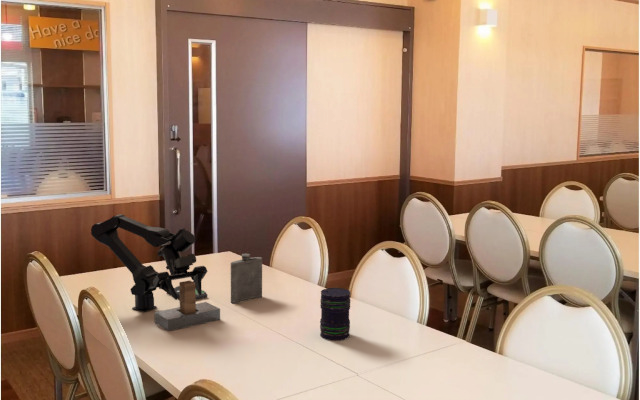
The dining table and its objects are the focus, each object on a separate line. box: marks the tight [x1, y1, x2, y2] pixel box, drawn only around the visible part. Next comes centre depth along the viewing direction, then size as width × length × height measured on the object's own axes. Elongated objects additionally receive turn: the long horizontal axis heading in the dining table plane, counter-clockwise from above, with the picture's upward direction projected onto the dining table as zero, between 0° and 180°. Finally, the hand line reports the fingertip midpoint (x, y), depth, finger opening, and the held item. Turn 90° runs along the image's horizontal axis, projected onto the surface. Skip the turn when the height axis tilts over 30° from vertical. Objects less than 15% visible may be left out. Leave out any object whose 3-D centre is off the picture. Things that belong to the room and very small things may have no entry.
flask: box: [230, 253, 263, 305], centre depth 261 cm, size 4×14×18 cm, turn 133°
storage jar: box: [319, 287, 351, 342], centre depth 222 cm, size 10×10×15 cm
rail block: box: [154, 301, 221, 332], centre depth 235 cm, size 10×20×4 cm, turn 129°
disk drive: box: [166, 285, 208, 301], centre depth 266 cm, size 10×3×15 cm
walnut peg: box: [179, 280, 197, 314], centre depth 234 cm, size 4×4×14 cm
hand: (188, 296), depth 233 cm, fingers open, 9 cm apart
